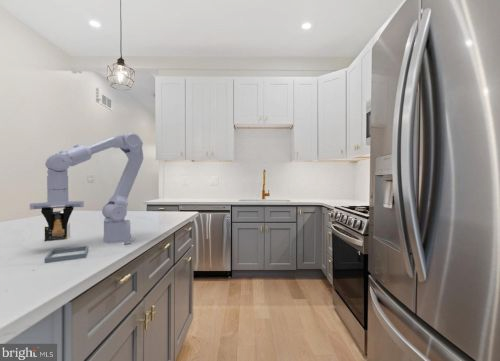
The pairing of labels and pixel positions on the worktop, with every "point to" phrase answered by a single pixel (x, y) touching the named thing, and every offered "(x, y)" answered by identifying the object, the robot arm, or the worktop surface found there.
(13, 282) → the worktop surface
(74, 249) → the tray
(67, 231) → the medicine bottle
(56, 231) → the cell
